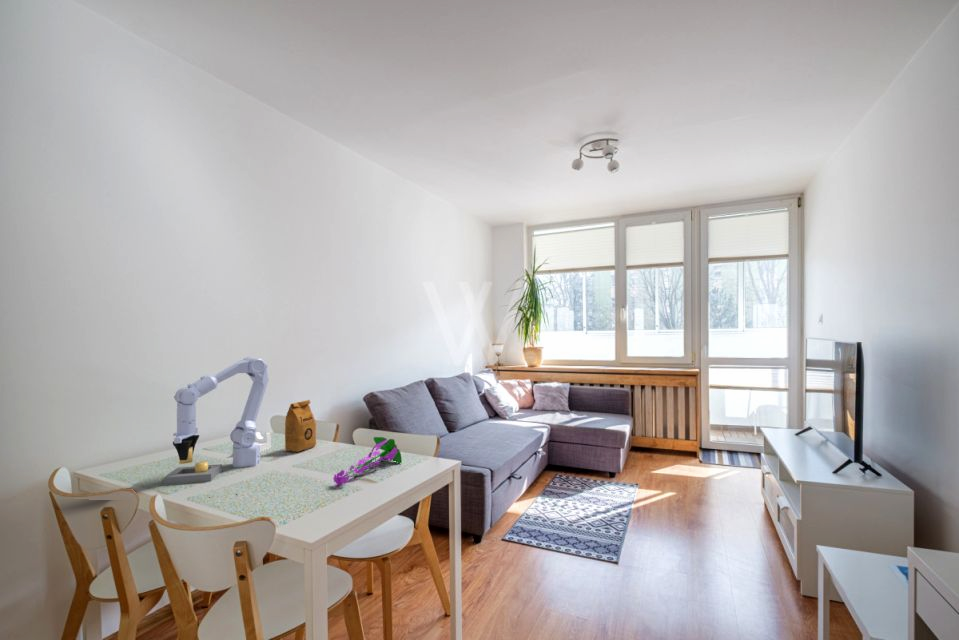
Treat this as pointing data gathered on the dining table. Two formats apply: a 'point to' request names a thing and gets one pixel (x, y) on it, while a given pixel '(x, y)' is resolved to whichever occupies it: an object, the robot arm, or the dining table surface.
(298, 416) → the coffee package
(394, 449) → the purple green flared piece
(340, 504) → the dining table surface
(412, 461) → the dining table surface
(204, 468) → the yellow potato
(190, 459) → the yellow oval lump
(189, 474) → the grey tray
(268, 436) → the bracket
